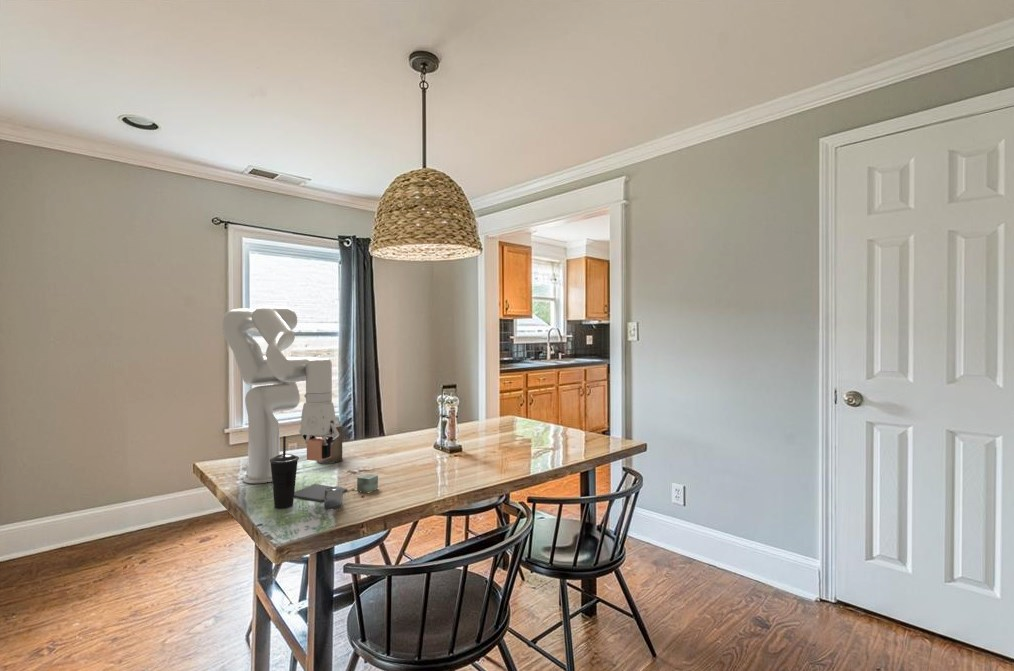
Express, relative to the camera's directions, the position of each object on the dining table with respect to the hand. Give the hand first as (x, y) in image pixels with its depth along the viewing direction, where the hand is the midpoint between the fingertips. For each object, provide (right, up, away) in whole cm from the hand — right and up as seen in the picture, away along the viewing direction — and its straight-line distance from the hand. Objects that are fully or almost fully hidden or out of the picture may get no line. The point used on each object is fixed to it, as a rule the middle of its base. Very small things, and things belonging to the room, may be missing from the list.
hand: (319, 456), depth 150 cm
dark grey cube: (+8, -12, -11) cm, 18 cm away
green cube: (+14, -12, +4) cm, 19 cm away
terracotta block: (0, -1, 0) cm, 1 cm away
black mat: (0, -12, 0) cm, 12 cm away
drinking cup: (-6, -12, -11) cm, 17 cm away
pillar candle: (-11, -12, +39) cm, 42 cm away
